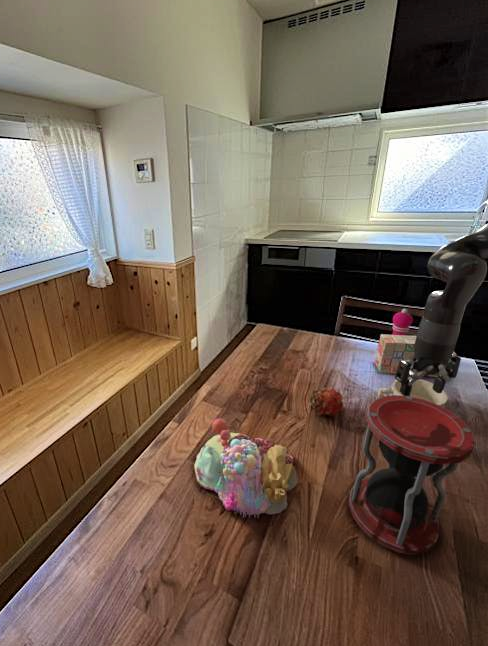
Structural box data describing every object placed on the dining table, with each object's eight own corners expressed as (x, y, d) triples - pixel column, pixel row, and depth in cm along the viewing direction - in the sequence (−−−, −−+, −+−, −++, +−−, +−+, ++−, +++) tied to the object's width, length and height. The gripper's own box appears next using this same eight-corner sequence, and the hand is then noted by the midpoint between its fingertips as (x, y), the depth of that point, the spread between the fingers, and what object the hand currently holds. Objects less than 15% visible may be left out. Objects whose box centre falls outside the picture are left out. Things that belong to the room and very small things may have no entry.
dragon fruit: (309, 424, 98) (331, 411, 105) (334, 422, 91) (356, 408, 99) (298, 395, 100) (321, 385, 107) (323, 391, 93) (345, 380, 100)
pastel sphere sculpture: (298, 446, 88) (301, 419, 85) (296, 532, 68) (300, 500, 64) (206, 430, 96) (205, 404, 92) (180, 502, 76) (177, 472, 72)
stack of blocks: (441, 368, 117) (450, 337, 112) (449, 378, 112) (459, 346, 107) (374, 363, 122) (380, 333, 117) (378, 373, 117) (385, 341, 112)
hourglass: (351, 540, 66) (374, 444, 56) (346, 474, 80) (363, 388, 70) (449, 567, 61) (493, 467, 51) (425, 492, 75) (456, 402, 64)
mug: (431, 394, 105) (435, 379, 103) (451, 423, 93) (456, 408, 91) (370, 388, 109) (373, 374, 107) (382, 416, 97) (386, 401, 95)
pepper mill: (408, 359, 124) (421, 309, 116) (398, 365, 120) (410, 314, 112) (389, 351, 129) (400, 303, 121) (378, 357, 126) (388, 308, 118)
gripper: (419, 347, 74) (404, 406, 80) (479, 340, 75) (459, 399, 81) (396, 332, 80) (384, 387, 87) (451, 326, 81) (435, 381, 88)
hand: (420, 393), depth 84 cm, fingers open, 8 cm apart
